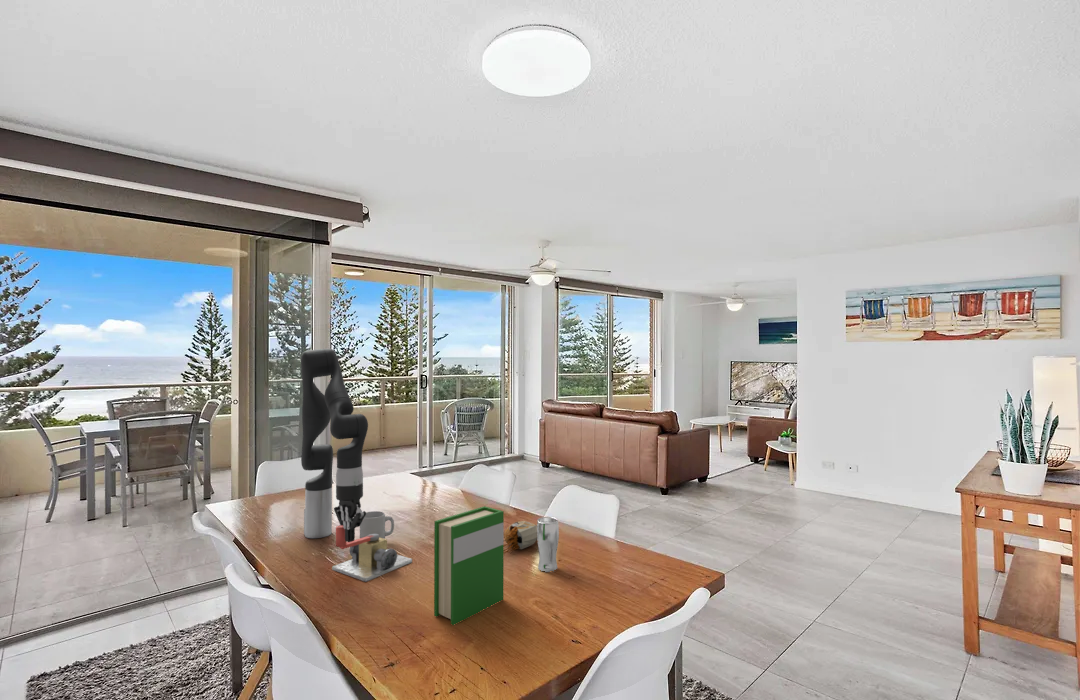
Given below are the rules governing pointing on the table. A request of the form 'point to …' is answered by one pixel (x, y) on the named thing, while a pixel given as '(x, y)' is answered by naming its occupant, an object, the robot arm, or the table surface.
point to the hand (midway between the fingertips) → (349, 541)
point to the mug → (375, 524)
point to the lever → (343, 544)
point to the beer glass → (547, 543)
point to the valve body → (371, 560)
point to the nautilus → (520, 535)
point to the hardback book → (468, 562)
